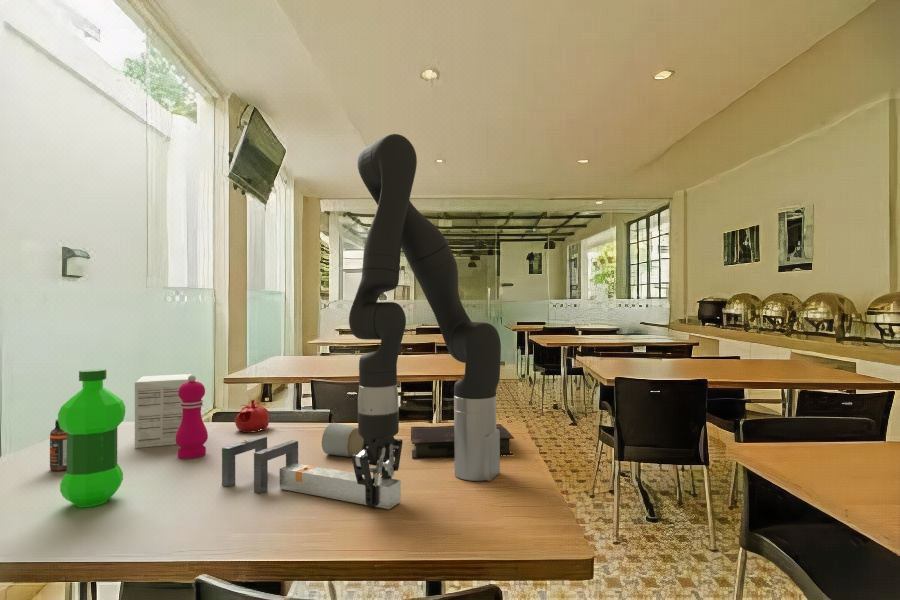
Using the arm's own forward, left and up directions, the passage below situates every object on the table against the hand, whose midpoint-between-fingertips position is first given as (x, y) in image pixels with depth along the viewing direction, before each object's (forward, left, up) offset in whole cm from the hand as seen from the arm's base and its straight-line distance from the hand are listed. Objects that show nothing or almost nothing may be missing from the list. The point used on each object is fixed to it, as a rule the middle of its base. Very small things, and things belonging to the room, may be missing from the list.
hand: (379, 500), depth 96 cm
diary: (+2, -41, -1) cm, 41 cm away
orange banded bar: (+10, 0, 0) cm, 10 cm away
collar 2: (+25, 0, -1) cm, 25 cm away
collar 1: (+34, 0, -1) cm, 34 cm away
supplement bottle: (+78, +12, -1) cm, 79 cm away
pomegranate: (+67, -33, -1) cm, 75 cm away
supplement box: (+80, -14, -1) cm, 81 cm away
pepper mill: (+60, -7, -1) cm, 61 cm away
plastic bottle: (+50, +22, -1) cm, 55 cm away
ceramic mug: (+26, -24, -1) cm, 36 cm away
